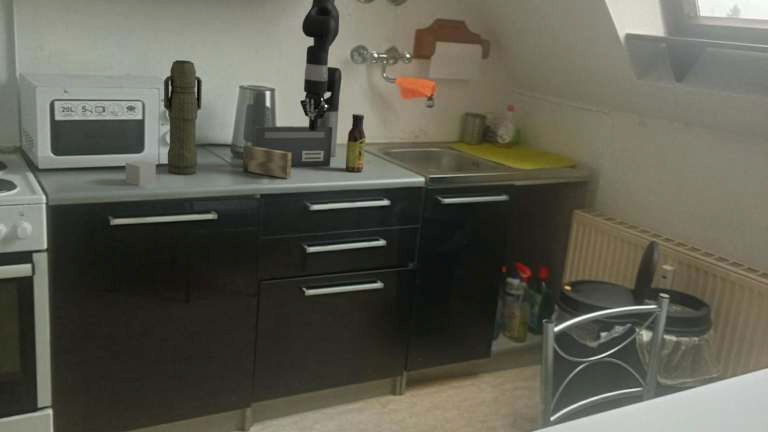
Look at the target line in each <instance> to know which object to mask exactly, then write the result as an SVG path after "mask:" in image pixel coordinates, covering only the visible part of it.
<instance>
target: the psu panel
mask: <svg viewBox="0 0 768 432" xmlns="http://www.w3.org/2000/svg"><path fill="white" fill-rule="evenodd" d="M331 142H332V127H317V130H316V131H311V130H309V126H288V125H287V126H286V125H285V126H281V125H280V126H277V125H275V126H258V125H257V126H253V145H252V146H254V147H260V148H266V149H272V150H278V151H284V152H290V153H292V154H291V168H316V167H317V168H319V167H322V168H323V167H330V166H331V158H332V157H331Z"/></svg>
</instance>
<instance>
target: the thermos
mask: <svg viewBox="0 0 768 432" xmlns="http://www.w3.org/2000/svg"><path fill="white" fill-rule="evenodd" d="M196 71H197V70H196V68H195V63H193V62H192V61H190V60H179V59H178V60H177V59H176V60H175V61H172V65H171V68H170V75H169V76H166V77H165V79H164V81H163V108H165V109H166V110H167V117H168V119H169V147H168V150H167V165H168V169H167V171H168V173H169V174H172V175H175V176H176V175H178V176H190V175H195V174H197V164H198V163H197V162H198V160H197V158H198V152H197V148H196V126H197V125H196V121H197V119H198V111H199V110H201V109H202V94H203V93H202V88H203V86H202V83H203V82H202V79H201V77H200V76H197V72H196Z"/></svg>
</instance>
